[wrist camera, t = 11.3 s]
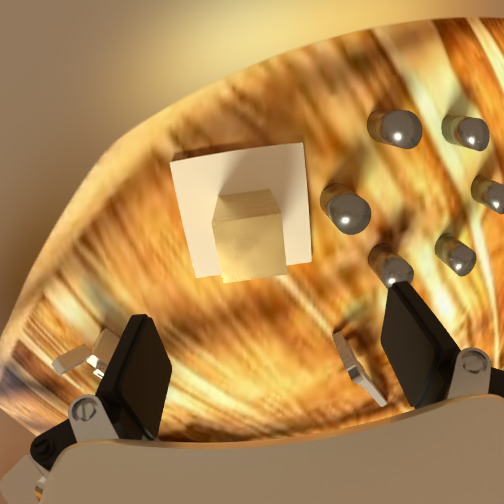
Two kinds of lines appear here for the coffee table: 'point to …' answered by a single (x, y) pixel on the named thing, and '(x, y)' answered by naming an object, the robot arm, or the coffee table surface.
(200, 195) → the coaster
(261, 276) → the tan rectangular block
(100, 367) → the lighter
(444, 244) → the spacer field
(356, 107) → the coffee table surface
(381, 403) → the caliper
